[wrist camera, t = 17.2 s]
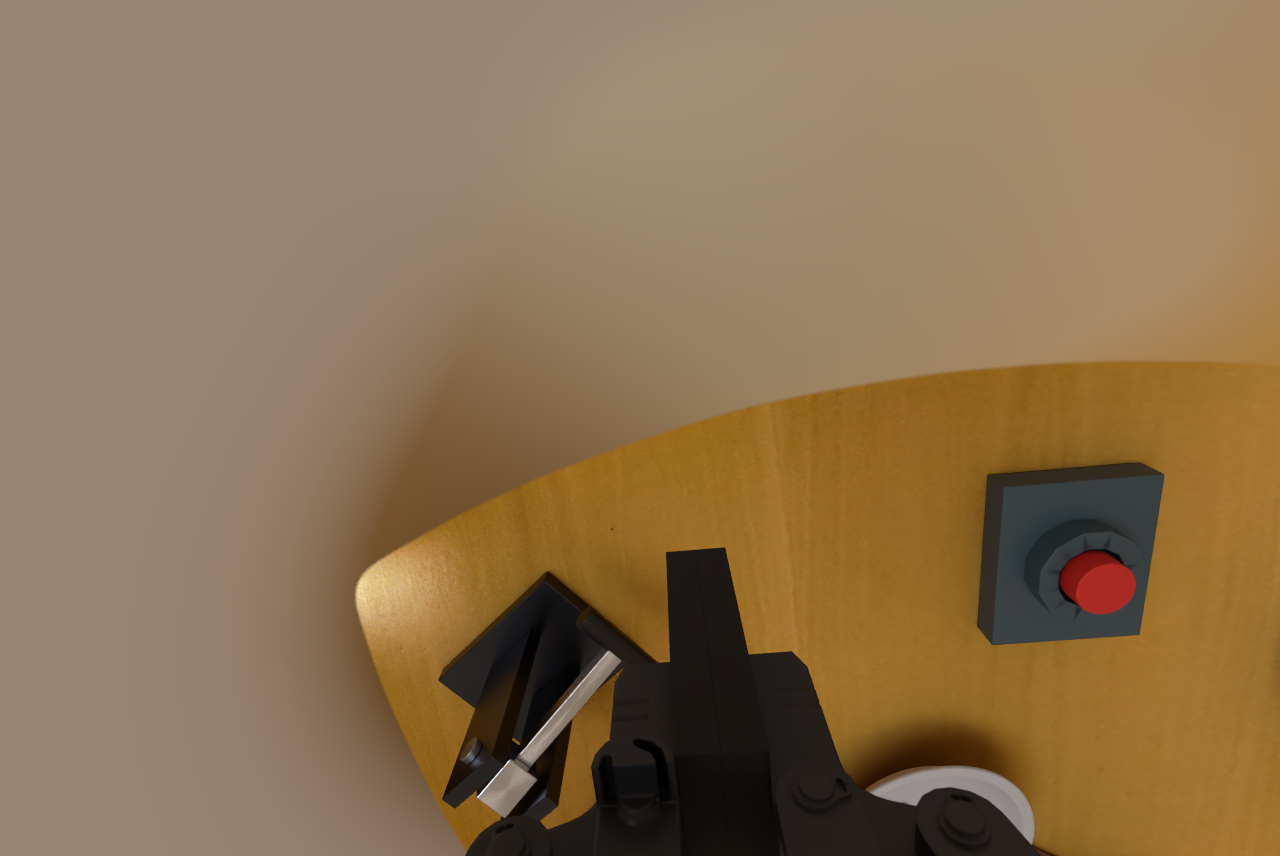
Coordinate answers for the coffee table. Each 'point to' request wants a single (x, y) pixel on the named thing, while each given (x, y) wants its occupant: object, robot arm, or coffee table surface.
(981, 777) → the dish
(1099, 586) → the button
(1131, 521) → the control block
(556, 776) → the bracket
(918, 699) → the coffee table surface
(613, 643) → the lever
